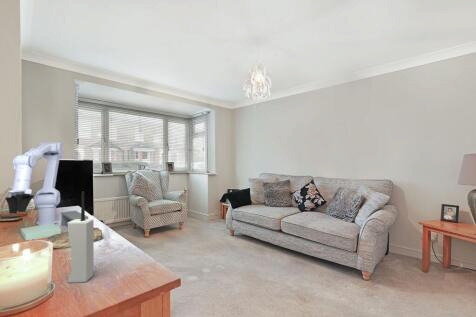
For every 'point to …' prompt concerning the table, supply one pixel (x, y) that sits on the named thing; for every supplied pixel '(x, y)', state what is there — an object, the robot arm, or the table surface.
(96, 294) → the table surface
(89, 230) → the vintage mobile phone
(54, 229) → the mint green slab
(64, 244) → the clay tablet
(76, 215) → the hood
